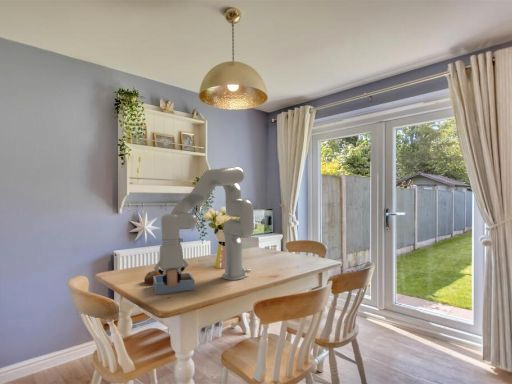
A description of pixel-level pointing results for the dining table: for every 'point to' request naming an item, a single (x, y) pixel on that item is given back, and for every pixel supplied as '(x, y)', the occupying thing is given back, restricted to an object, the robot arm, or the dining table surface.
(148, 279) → the bread roll
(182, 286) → the tote
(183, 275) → the walnut cube
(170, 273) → the terracotta cylinder
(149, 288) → the dining table surface
